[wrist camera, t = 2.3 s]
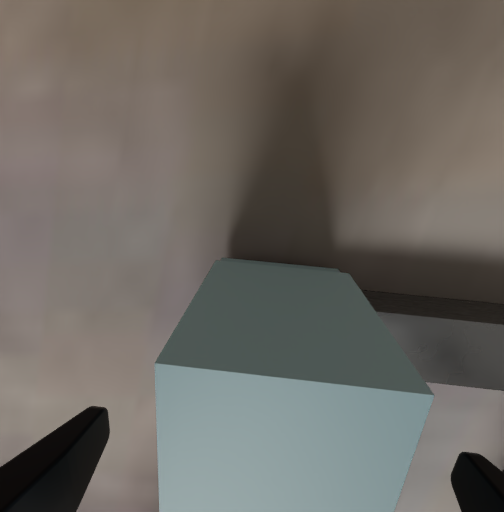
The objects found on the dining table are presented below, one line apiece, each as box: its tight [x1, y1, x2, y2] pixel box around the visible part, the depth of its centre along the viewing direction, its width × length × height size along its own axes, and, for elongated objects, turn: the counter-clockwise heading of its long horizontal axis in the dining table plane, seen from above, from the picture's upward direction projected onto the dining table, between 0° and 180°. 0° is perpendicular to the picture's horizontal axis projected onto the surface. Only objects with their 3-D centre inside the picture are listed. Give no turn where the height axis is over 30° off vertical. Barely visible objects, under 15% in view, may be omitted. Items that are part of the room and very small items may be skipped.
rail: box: [361, 290, 504, 391], centre depth 11 cm, size 16×3×4 cm, turn 86°
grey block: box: [155, 258, 434, 512], centre depth 10 cm, size 5×6×8 cm
